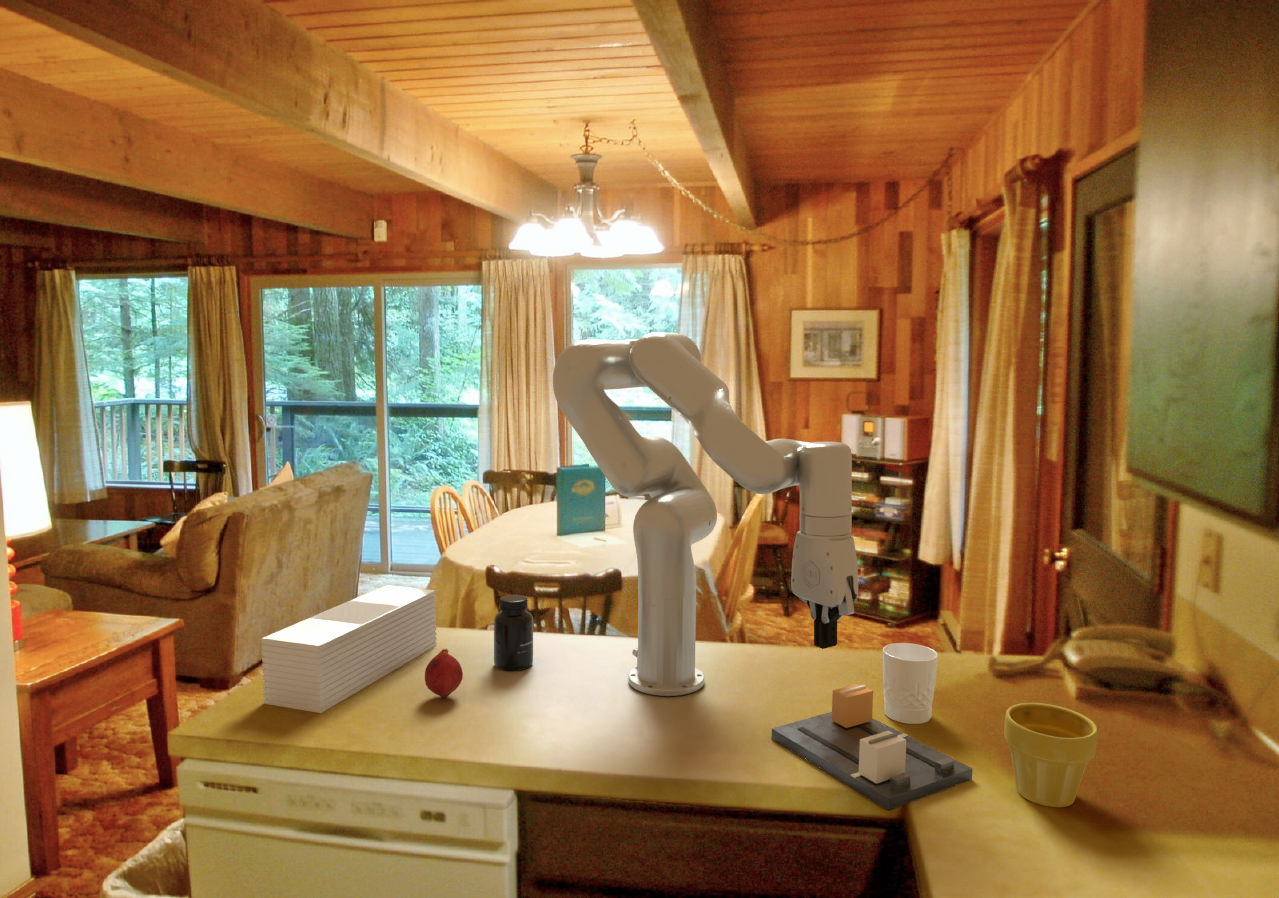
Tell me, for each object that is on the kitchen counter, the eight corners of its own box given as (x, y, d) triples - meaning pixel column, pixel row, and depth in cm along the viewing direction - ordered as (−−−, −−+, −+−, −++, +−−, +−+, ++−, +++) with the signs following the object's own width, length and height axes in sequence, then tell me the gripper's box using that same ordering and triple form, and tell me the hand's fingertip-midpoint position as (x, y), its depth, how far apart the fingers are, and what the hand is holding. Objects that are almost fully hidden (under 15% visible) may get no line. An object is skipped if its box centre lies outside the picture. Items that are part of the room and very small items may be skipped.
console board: (771, 738, 120) (771, 720, 120) (849, 716, 128) (850, 699, 128) (888, 810, 101) (889, 788, 101) (971, 779, 109) (973, 759, 109)
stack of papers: (321, 714, 128) (318, 645, 127) (264, 704, 131) (261, 637, 130) (436, 646, 158) (435, 590, 157) (387, 639, 162) (386, 584, 160)
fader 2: (858, 773, 107) (859, 736, 106) (887, 763, 109) (888, 728, 109) (876, 783, 104) (877, 746, 104) (904, 773, 107) (906, 737, 106)
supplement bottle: (530, 672, 145) (529, 603, 144) (490, 671, 145) (489, 603, 144) (535, 657, 152) (535, 592, 150) (497, 657, 152) (497, 592, 151)
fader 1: (831, 719, 123) (832, 688, 122) (857, 712, 125) (858, 681, 125) (846, 727, 120) (847, 695, 119) (872, 720, 122) (873, 688, 122)
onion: (436, 708, 130) (434, 657, 129) (418, 696, 134) (417, 647, 133) (469, 698, 134) (468, 649, 133) (451, 687, 138) (450, 639, 137)
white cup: (938, 728, 124) (941, 662, 123) (882, 723, 125) (885, 658, 124) (931, 706, 132) (933, 644, 130) (878, 702, 133) (880, 641, 132)
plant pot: (1112, 811, 102) (1118, 733, 100) (1036, 820, 99) (1041, 741, 98) (1053, 770, 112) (1058, 698, 111) (983, 777, 109) (987, 705, 108)
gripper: (773, 520, 130) (774, 637, 132) (842, 536, 117) (842, 665, 119) (810, 515, 134) (810, 628, 135) (881, 530, 121) (880, 655, 123)
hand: (825, 645), depth 127 cm, fingers closed
